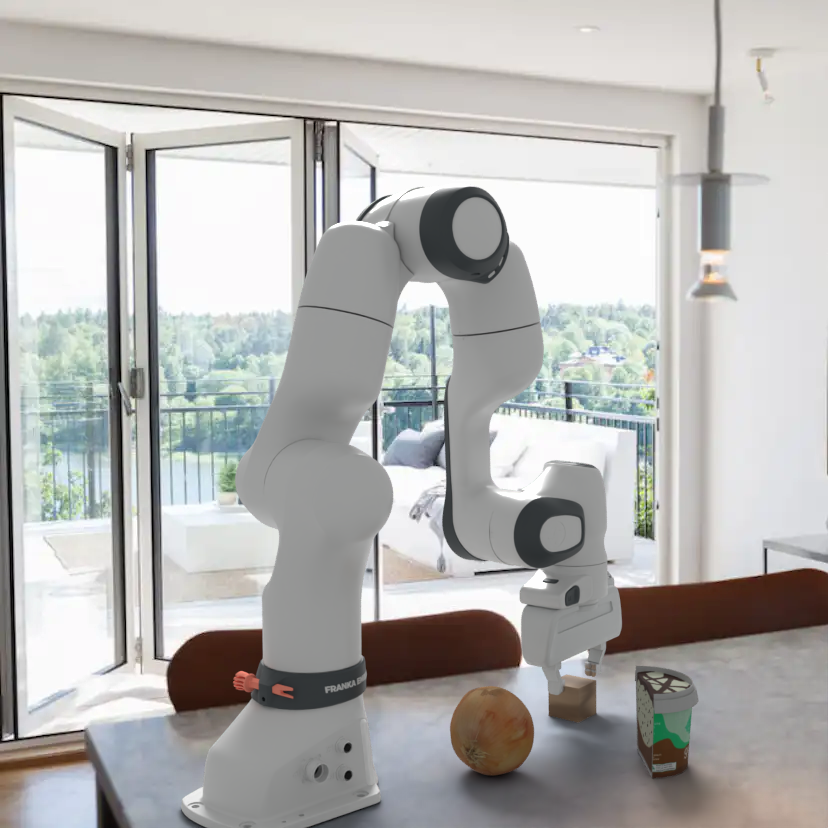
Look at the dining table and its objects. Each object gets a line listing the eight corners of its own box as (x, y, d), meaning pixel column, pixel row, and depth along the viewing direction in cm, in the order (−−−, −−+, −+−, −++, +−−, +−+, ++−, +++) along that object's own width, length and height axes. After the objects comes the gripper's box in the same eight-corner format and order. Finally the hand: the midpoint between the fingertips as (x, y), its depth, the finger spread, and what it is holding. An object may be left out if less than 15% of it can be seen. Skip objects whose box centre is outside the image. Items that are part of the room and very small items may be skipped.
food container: (709, 783, 123) (710, 695, 122) (654, 783, 123) (654, 695, 122) (684, 744, 135) (685, 663, 134) (634, 744, 135) (634, 664, 135)
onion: (544, 762, 129) (544, 678, 129) (520, 794, 120) (519, 704, 120) (467, 752, 133) (466, 670, 133) (438, 782, 124) (437, 695, 123)
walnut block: (578, 723, 143) (578, 688, 143) (548, 716, 146) (548, 682, 146) (596, 714, 147) (596, 680, 147) (566, 707, 150) (566, 674, 149)
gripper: (592, 565, 156) (593, 661, 156) (511, 592, 140) (513, 699, 141) (632, 570, 152) (633, 669, 152) (554, 599, 136) (555, 708, 137)
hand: (575, 683), depth 146 cm, fingers open, 8 cm apart
